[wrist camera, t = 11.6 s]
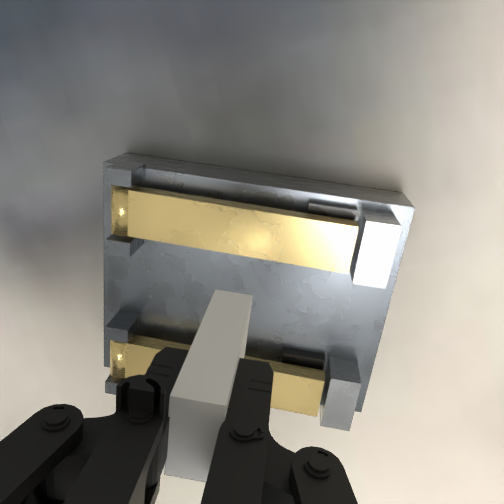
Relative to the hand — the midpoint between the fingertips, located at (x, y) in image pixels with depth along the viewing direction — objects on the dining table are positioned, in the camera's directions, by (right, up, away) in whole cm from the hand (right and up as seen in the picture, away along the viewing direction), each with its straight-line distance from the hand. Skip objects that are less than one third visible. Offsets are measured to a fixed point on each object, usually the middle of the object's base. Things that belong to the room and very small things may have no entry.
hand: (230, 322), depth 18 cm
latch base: (+1, +1, +17) cm, 17 cm away
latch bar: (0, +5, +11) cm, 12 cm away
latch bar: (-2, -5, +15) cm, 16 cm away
